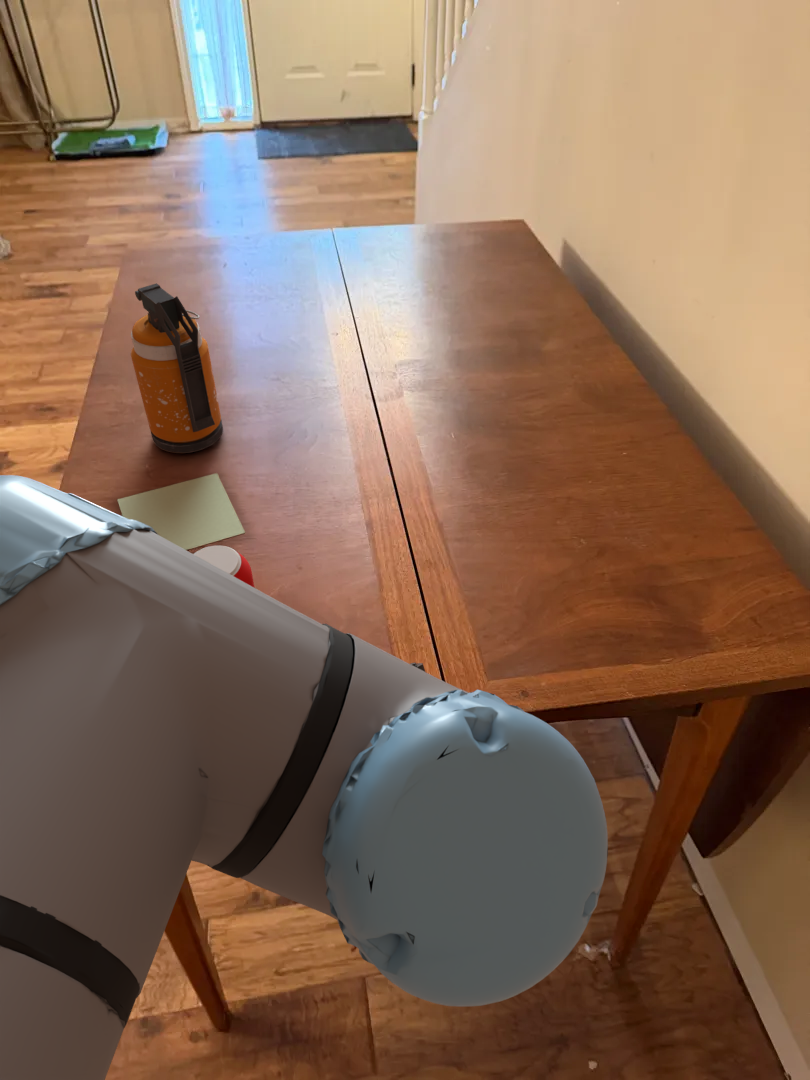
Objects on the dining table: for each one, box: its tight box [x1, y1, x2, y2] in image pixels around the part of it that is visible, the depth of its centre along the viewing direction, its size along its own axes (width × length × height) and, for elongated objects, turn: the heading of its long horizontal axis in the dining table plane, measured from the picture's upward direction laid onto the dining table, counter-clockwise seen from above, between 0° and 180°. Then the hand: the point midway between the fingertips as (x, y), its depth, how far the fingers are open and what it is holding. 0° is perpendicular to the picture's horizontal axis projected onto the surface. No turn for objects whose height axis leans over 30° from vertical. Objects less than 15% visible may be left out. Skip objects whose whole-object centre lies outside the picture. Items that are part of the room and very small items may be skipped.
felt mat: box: [116, 472, 246, 551], centre depth 90 cm, size 12×12×1 cm
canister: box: [130, 283, 224, 454], centre depth 94 cm, size 9×11×20 cm
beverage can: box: [193, 544, 256, 588], centre depth 71 cm, size 6×6×12 cm
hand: (270, 694), depth 55 cm, fingers open, 3 cm apart
